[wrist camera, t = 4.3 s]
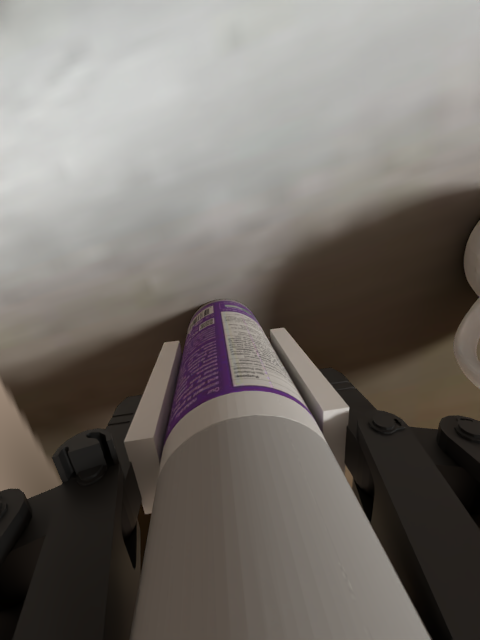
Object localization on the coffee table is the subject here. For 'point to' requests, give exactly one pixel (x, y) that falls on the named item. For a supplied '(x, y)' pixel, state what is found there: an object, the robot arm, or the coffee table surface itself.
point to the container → (257, 510)
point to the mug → (470, 313)
